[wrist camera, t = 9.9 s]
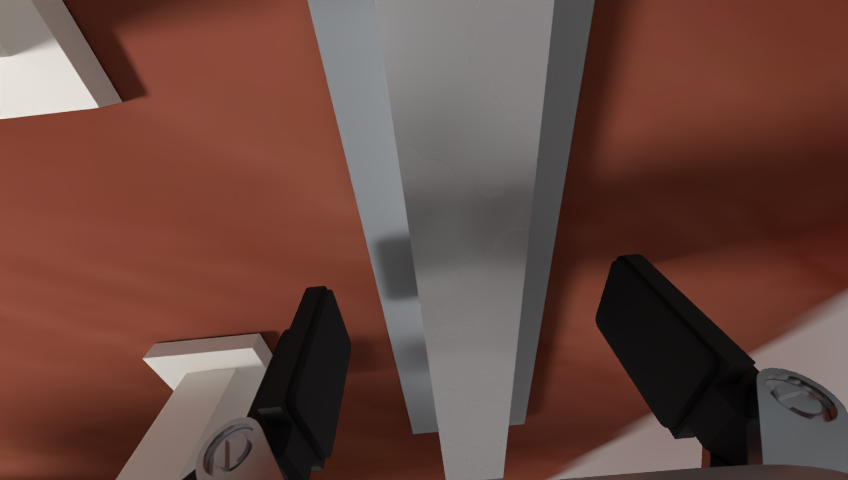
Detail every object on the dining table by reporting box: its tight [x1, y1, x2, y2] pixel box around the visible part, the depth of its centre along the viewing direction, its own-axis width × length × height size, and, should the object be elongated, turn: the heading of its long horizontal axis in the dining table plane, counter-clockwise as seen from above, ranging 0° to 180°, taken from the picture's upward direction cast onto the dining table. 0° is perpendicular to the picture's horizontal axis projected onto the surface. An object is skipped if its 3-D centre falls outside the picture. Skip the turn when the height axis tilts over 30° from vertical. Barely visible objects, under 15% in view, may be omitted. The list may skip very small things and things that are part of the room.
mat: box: [308, 0, 595, 434], centre depth 12 cm, size 26×7×1 cm, turn 6°
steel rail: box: [375, 0, 554, 480], centre depth 11 cm, size 26×3×3 cm, turn 6°
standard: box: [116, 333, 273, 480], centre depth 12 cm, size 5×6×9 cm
